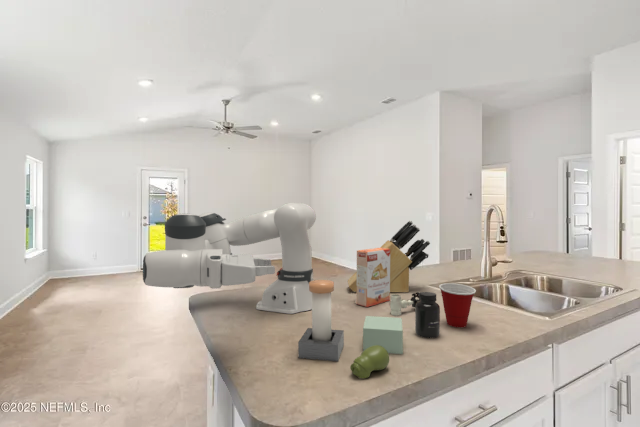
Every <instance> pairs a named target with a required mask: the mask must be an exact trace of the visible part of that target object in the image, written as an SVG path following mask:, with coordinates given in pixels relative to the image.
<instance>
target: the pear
mask: <svg viewBox="0 0 640 427" xmlns="http://www.w3.org/2000/svg"><path fill="white" fill-rule="evenodd" d="M389 354H390V353H388V352H387V350H386V349H385V348H384V347H382V346H379V345H374V346H371V347H369V348H367V349H366V350H364V351H362V352H361V354H360V355H359V356H357V357H356V358H354V360H353V362H352V363H351V365H350V366H349V368H350V371H351V373H352V374H353V375H354V376H355V375H356V376H355V377H357V376H358V377H359V378H358V377H357V378H358V379H360V378H362V379H361V380H364V379H363V378H365V379H367V378H369V377H370V375H371V372H373V371H383V370H384V369H386V368H387V367H388V365H389V363H390V355H389Z"/></svg>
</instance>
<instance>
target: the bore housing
mask: <svg viewBox="0 0 640 427" xmlns="http://www.w3.org/2000/svg"><path fill="white" fill-rule="evenodd" d="M344 332H345V330H344V329H343V330H342V329H332V341H318V340H312V327H308V328H307V329H306V330H305V331H304V333H303V335H302V336H301V338H300V339H299V341H298V343H297V344H298V345H297V347H298V350H297V351H298V354H297V356H298V359H304V358H306V359H305V360H316V359H318V360H317V361H327V360H328V362H330V361H331V362H339V360H340V357H341V355H340V354H342V352H343V348H344V346H345V339H344V338H345V336H344V335H345V333H344Z"/></svg>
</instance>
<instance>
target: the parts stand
mask: <svg viewBox="0 0 640 427" xmlns="http://www.w3.org/2000/svg"><path fill="white" fill-rule="evenodd" d="M403 330H404V329H403V320H402V317H393V316H392V317H390V316H389V317H388V316H376V315H375V316H373V315H365V319H364V322H363V327H362V343H363V344H362V347H363V348H362V350H363V351H364V350H366V349H367V348H369V347H371V346H374V345H379V346H382V347H384V348H385V349H386V350H387V352H388V354H393V355H394V354H396V355H404V351H403V350H404V347H403V346H404V342H403V341H404V336H403V333H404V332H403ZM363 351H362V352H363Z"/></svg>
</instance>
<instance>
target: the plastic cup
mask: <svg viewBox="0 0 640 427" xmlns="http://www.w3.org/2000/svg"><path fill="white" fill-rule="evenodd" d="M438 288H439V290H440V293H441V298H442V303H443V305H442V306H443V311H444V314H445V319H446V324H447V325H448V326H450V327H452V328H453V327H454V328H460V329H461V328H466V327H467V325H468V320H469V315H470V311H471V306H472V301H473V298H474V295H475V294H476V292H477V290H476V288H474V287H472V286H470V285H467V284H461V283H455V282H446V283H445V282H444V283H441V284H439V285H438Z"/></svg>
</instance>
